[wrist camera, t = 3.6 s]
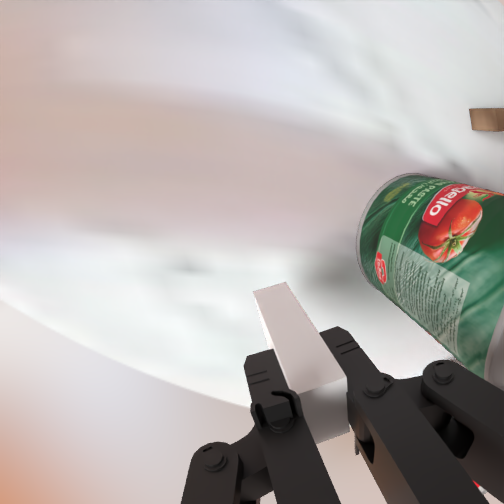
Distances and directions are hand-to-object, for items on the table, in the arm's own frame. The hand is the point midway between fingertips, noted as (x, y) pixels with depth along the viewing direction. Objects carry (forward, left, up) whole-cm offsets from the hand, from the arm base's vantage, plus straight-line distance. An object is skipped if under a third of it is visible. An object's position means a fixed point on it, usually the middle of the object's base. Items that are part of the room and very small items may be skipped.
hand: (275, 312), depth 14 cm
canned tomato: (0, +10, -4) cm, 10 cm away
